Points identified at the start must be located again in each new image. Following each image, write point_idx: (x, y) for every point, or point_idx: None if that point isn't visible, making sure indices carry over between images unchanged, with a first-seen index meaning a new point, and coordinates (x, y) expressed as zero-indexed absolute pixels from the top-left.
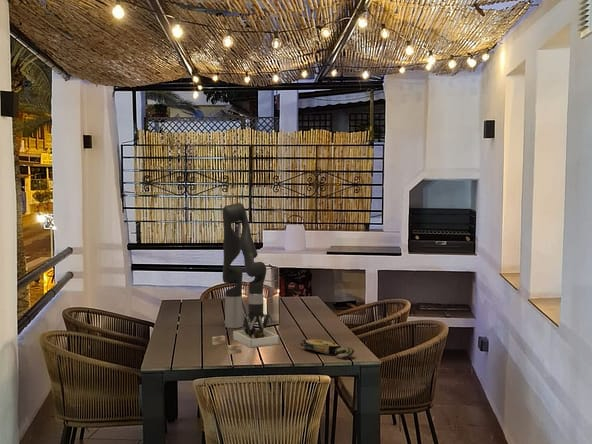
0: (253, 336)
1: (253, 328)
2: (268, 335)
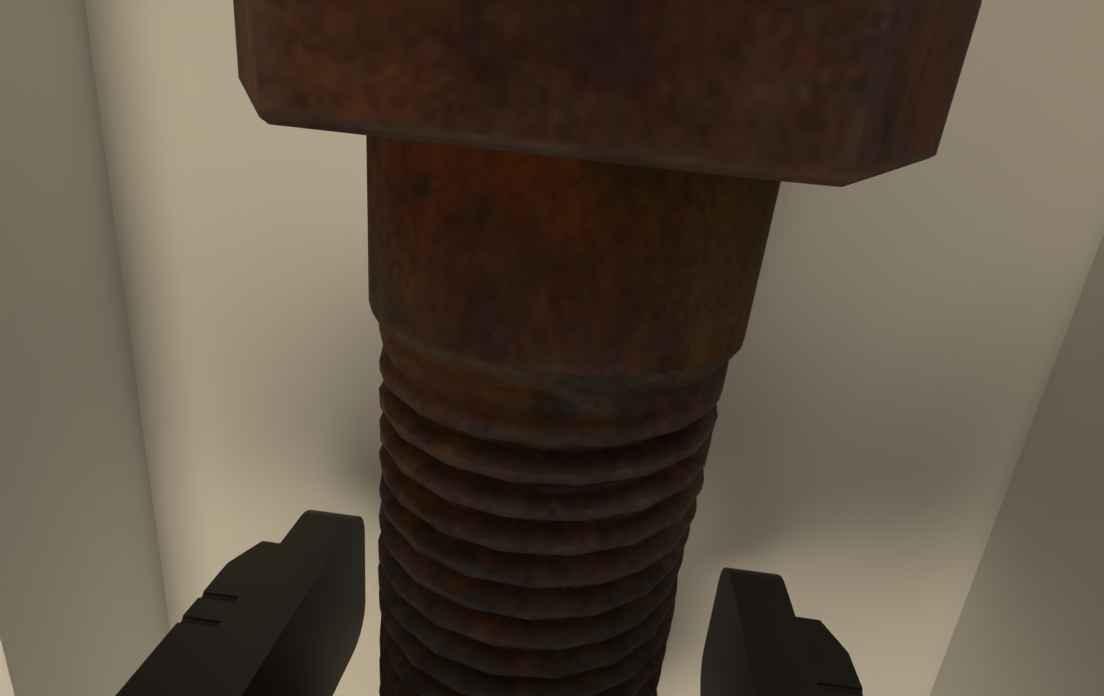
0: None
1: (522, 589)
2: (1023, 655)
